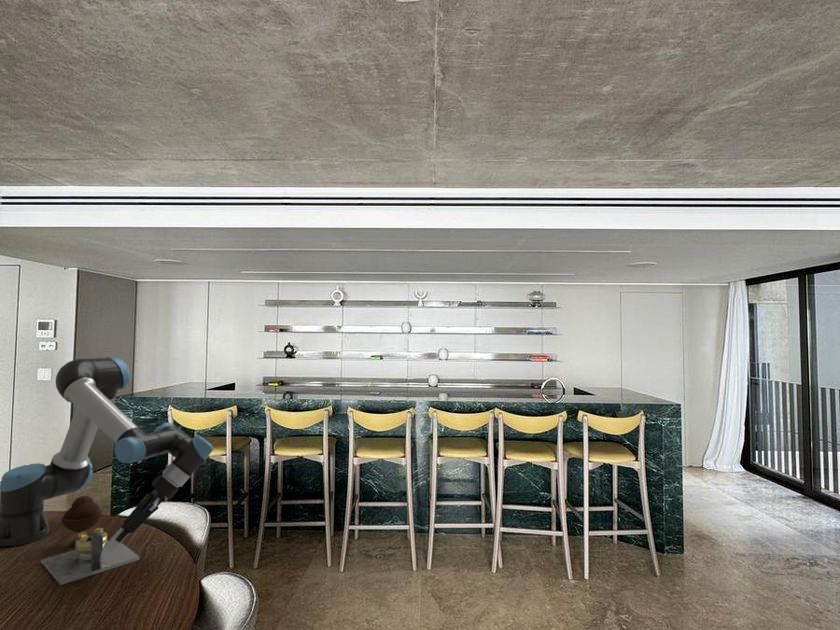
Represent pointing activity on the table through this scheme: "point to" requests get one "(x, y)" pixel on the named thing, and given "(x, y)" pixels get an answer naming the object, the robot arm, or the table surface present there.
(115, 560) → the mounting plate
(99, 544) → the multicoloured piece
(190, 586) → the table surface
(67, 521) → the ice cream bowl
